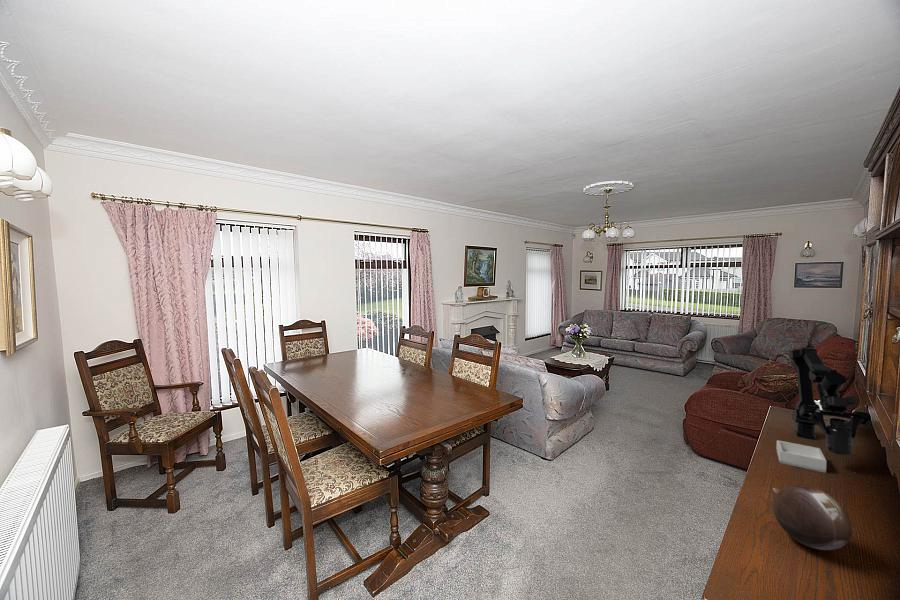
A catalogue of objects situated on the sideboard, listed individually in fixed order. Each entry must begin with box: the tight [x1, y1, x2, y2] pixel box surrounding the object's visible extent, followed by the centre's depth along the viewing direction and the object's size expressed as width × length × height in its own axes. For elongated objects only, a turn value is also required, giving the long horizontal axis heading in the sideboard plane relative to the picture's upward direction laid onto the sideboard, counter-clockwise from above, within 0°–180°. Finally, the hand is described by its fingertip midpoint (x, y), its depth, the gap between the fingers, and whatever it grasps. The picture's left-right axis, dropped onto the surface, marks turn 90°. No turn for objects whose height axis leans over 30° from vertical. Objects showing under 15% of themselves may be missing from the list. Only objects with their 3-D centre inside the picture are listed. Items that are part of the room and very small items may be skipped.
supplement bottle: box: [825, 417, 854, 456], centre depth 135 cm, size 7×7×12 cm
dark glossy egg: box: [772, 484, 853, 551], centre depth 97 cm, size 15×15×15 cm
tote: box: [776, 440, 827, 474], centre depth 141 cm, size 13×13×4 cm
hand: (840, 435), depth 133 cm, fingers closed on supplement bottle, 7 cm apart
